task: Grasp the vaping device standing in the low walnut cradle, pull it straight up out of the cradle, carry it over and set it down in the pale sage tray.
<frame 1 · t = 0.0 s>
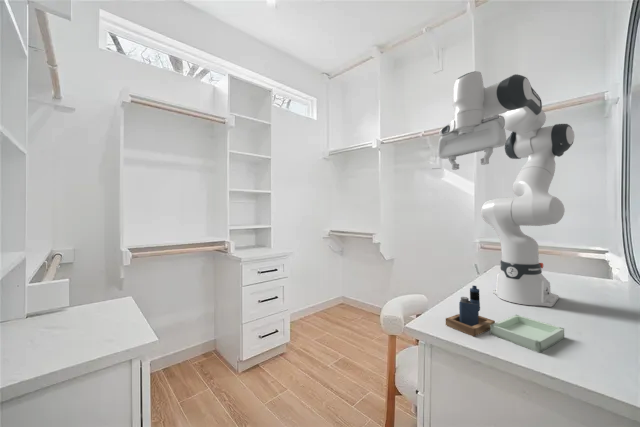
hand: (469, 167, 82), 48 cm above the closet island, fingers open, 8 cm apart
tray: (526, 336, 68), on the closet island
holder: (469, 326, 74), on the closet island
vaping device: (469, 327, 74), resting in holder
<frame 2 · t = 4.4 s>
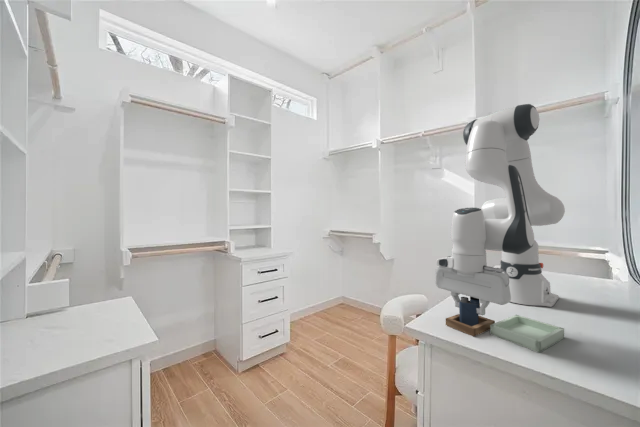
hand: (469, 310, 74), 5 cm above the closet island, fingers closed on vaping device, 5 cm apart
vaping device: (469, 327, 74), resting in holder, touching gripper
when the fingers open (7 cm above the closet island, at t = 13.2 s): vaping device drops 2 cm, resting on tray.
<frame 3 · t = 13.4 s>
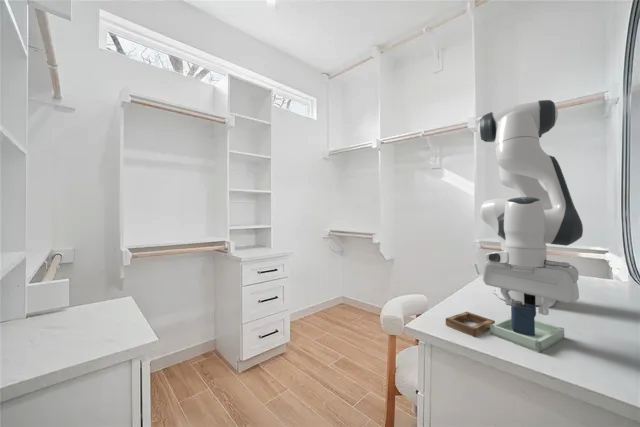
hand: (526, 309, 68), 7 cm above the closet island, fingers open, 6 cm apart
vaping device: (523, 333, 68), resting on tray, touching gripper
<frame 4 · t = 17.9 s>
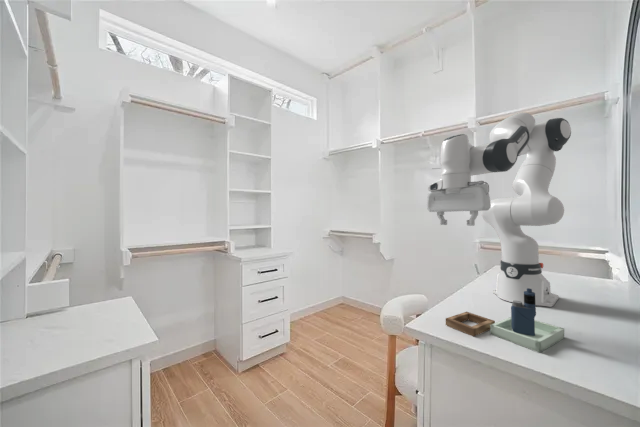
hand: (456, 225, 84), 29 cm above the closet island, fingers open, 8 cm apart
vaping device: (523, 333, 68), resting on tray
at the end: vaping device inside the target area on the tray (0.6 cm from its centre), point 0.4 cm above the tray's base; vaping device touching tray; the gripper is holding nothing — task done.
